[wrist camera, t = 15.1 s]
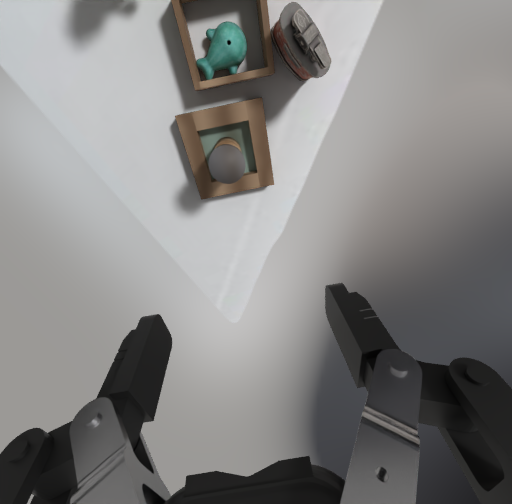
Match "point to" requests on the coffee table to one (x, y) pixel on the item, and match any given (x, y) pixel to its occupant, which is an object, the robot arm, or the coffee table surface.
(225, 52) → the whale figurine
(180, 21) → the open wooden box
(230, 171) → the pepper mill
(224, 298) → the coffee table surface
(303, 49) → the lighter
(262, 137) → the pocket block
